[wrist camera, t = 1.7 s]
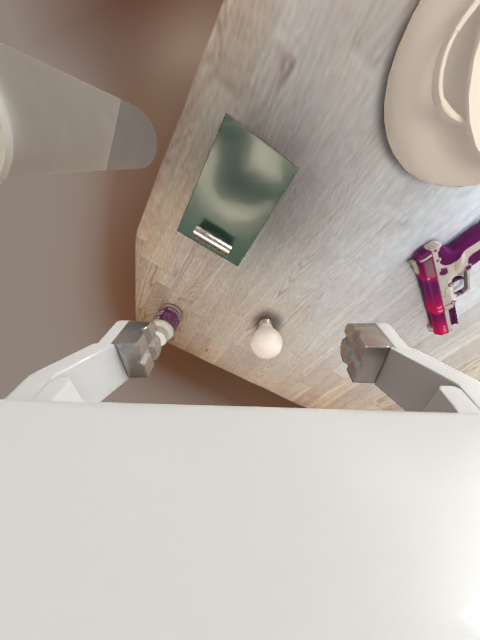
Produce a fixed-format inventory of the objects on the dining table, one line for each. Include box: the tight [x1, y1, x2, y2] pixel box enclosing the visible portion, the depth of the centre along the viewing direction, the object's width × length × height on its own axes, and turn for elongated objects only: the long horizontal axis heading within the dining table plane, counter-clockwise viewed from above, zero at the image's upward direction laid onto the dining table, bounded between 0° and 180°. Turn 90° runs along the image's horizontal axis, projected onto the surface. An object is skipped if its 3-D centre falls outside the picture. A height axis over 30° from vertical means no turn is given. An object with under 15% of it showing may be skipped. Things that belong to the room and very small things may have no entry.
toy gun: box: [408, 222, 480, 335], centre depth 45 cm, size 4×22×15 cm
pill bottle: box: [152, 304, 182, 346], centre depth 51 cm, size 5×5×10 cm
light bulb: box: [250, 319, 282, 359], centre depth 50 cm, size 7×7×11 cm
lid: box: [177, 113, 298, 266], centre depth 31 cm, size 15×11×5 cm
